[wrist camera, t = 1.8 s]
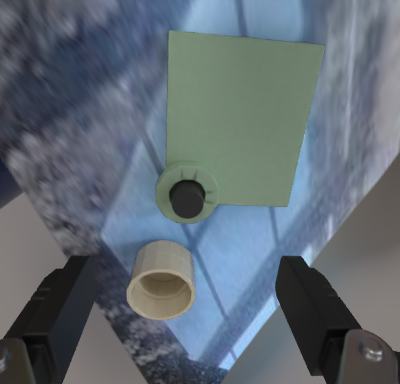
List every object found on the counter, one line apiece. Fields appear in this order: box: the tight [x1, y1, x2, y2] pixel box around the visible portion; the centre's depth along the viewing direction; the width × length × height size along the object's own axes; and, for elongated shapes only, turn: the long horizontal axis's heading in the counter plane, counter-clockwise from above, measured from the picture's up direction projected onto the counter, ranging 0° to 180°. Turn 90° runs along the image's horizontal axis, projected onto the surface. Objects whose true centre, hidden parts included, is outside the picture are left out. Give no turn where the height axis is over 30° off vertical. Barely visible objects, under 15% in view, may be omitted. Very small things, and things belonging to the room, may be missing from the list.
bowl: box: [126, 240, 196, 320], centre depth 26 cm, size 6×6×5 cm
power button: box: [172, 181, 204, 219], centre depth 22 cm, size 3×3×2 cm
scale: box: [156, 30, 325, 223], centre depth 22 cm, size 13×15×3 cm
